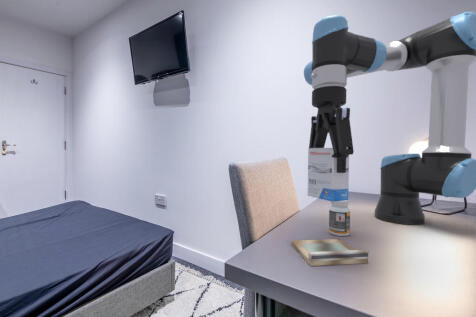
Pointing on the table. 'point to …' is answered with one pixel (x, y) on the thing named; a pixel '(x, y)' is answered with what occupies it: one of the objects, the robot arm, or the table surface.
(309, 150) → the ink box
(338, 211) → the pill bottle
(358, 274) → the table surface
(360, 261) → the tan flat block
